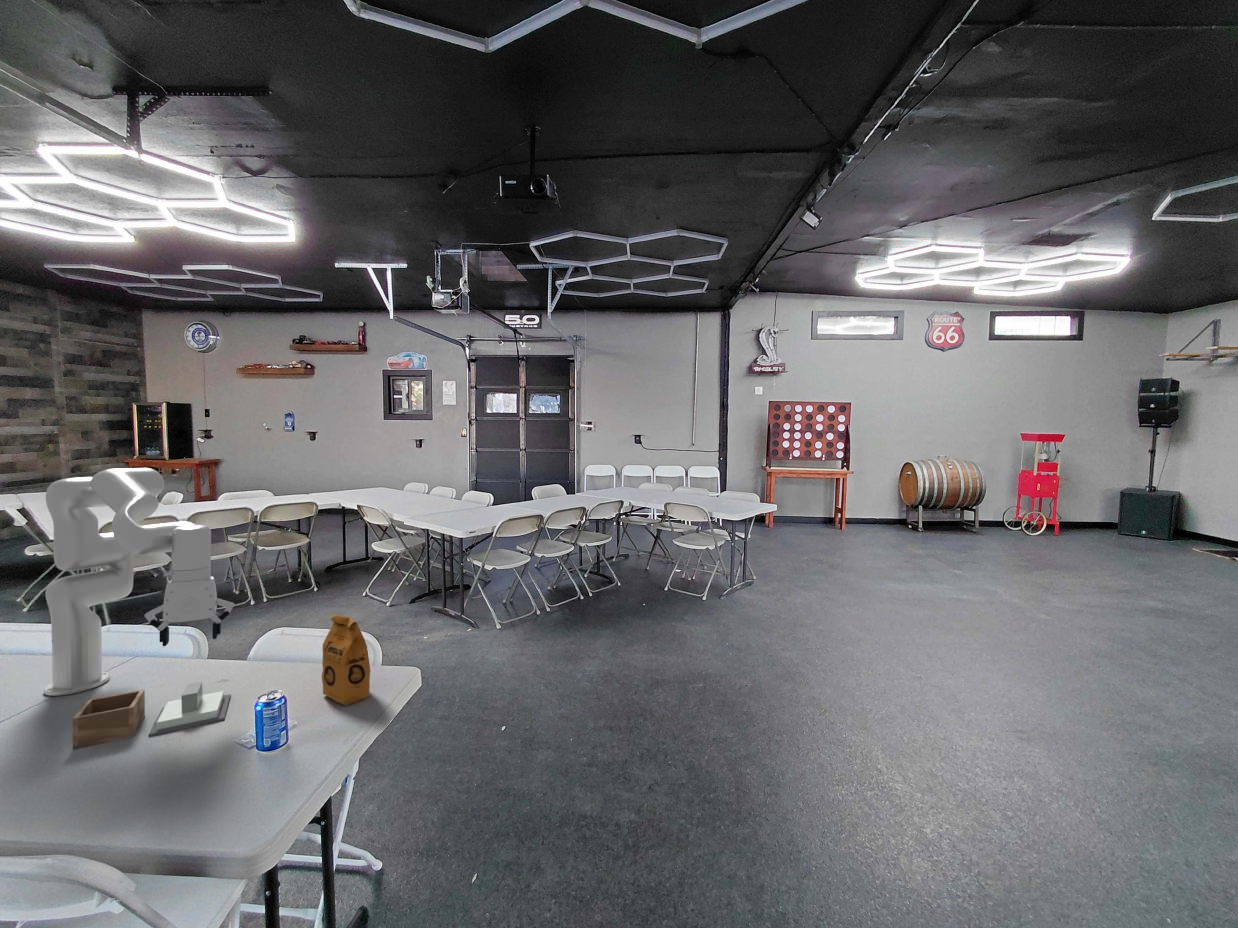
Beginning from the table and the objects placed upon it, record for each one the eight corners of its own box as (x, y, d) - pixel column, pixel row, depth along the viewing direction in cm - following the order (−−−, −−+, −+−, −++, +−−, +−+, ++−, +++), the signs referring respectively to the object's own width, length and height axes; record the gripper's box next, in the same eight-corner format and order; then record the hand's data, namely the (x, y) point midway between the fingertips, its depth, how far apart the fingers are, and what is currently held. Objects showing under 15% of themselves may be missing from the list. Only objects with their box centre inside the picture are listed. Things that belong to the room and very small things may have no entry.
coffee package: (338, 710, 130) (338, 628, 129) (317, 696, 137) (317, 617, 137) (375, 696, 138) (376, 618, 137) (354, 682, 145) (354, 608, 145)
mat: (162, 709, 129) (162, 707, 129) (230, 696, 136) (230, 693, 136) (148, 736, 117) (148, 733, 117) (224, 719, 125) (224, 717, 125)
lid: (168, 708, 128) (167, 684, 128) (223, 697, 134) (223, 674, 134) (156, 729, 119) (156, 703, 119) (217, 716, 125) (217, 692, 125)
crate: (88, 727, 120) (88, 699, 120) (144, 716, 125) (144, 689, 125) (72, 749, 112) (72, 718, 111) (133, 736, 117) (133, 706, 117)
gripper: (141, 581, 118) (140, 652, 118) (232, 574, 127) (232, 639, 128) (149, 574, 124) (148, 641, 125) (236, 567, 133) (235, 630, 134)
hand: (191, 640), depth 126 cm, fingers open, 9 cm apart
